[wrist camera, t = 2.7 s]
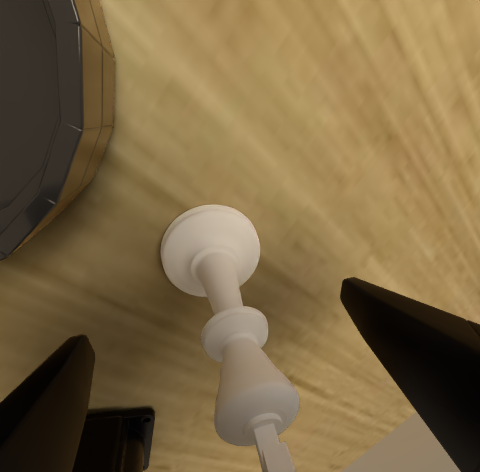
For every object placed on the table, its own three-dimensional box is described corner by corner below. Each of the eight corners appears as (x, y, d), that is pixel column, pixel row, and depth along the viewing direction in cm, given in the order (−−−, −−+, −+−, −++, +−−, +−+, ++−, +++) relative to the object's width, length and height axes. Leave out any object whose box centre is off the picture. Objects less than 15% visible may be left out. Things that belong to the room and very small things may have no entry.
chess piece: (171, 298, 13) (168, 653, 4) (149, 212, 11) (61, 570, 2) (259, 280, 14) (400, 544, 5) (255, 197, 12) (483, 412, 3)
